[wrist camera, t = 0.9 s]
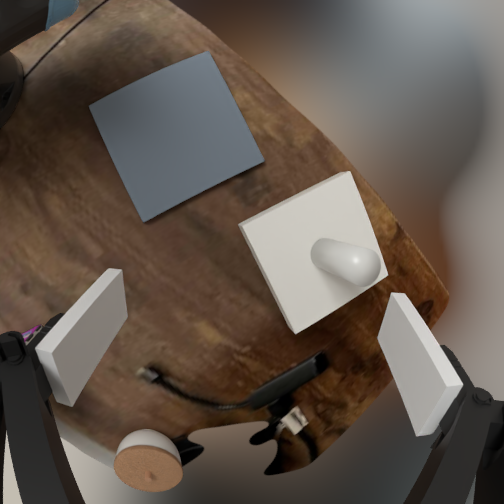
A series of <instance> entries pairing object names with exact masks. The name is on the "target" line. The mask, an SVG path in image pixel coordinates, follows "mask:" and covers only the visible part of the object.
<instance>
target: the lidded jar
mask: <svg viewBox="0 0 504 504" xmlns="http://www.w3.org/2000/svg"><path fill="white" fill-rule="evenodd" d="M114 470H115V472H116V474H117V476H118V477H119V478H120V479H121V480H122V481H123V482H124V483H125V484H127V485H129V486H131V487H133V488H135V489H139V490H142V491H148V492H159V491H165V490H168V489H171V488H173V487H175V486H176V485H177V484H178V483H179V482H180V481H181V479H182V477H183V469H182V465H181V459H180V455H179V452H178V450H177V448H176V446H175V445H174V443H173V442H172V441H171V440H170V439H169V438H168V437H166V436H165V435H163V434H162V433H159V432H157V431H155V430H151V429H142V430H137V431H134V432H132V433H130V434H128V435H127V436H126V437H125V438H124V439H123V440H122V441H121V443H120V445H119V447H118V449H117V453H116V458H115V461H114Z"/></svg>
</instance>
